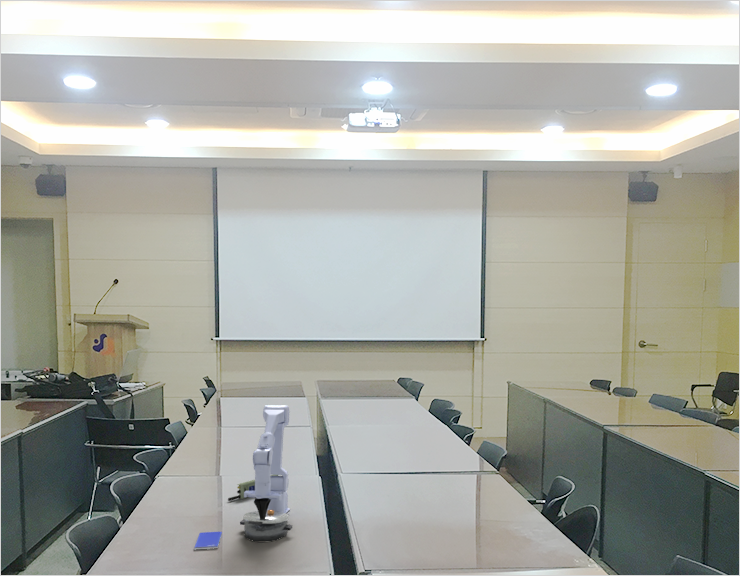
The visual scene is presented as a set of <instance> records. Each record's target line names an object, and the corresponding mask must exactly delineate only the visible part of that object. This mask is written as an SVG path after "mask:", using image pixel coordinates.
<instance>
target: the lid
mask: <svg viewBox="0 0 740 576" xmlns="http://www.w3.org/2000/svg"><path fill="white" fill-rule="evenodd" d="M242 516H243V519H242V520H245V521H247V522H248V524H256V525H262V524H276V523H282V522H285V521H287V522H288V520H289V519H290V515H289V514H288V513H283V512H277V511H274V510H268V511H267V512H266V517H265V518H264V519H261V518H260V516H259V512H258V510H257V511H251V512H246V513H244V514H243V515H242Z"/></svg>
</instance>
